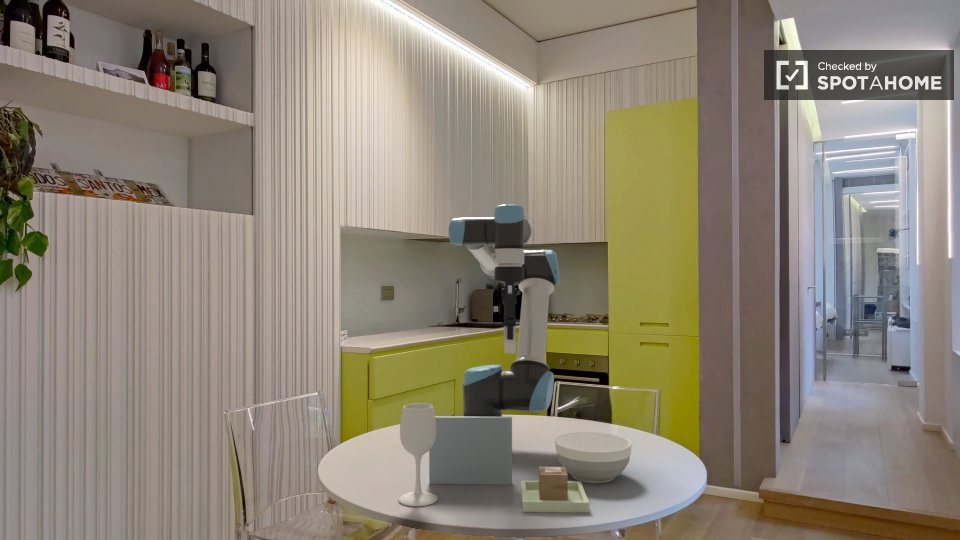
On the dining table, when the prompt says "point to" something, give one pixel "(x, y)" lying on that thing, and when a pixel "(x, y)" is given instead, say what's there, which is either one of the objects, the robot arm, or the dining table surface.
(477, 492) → the dining table surface
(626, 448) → the bowl
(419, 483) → the wineglass
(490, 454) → the screen
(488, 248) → the robot arm
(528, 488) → the tray
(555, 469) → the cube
